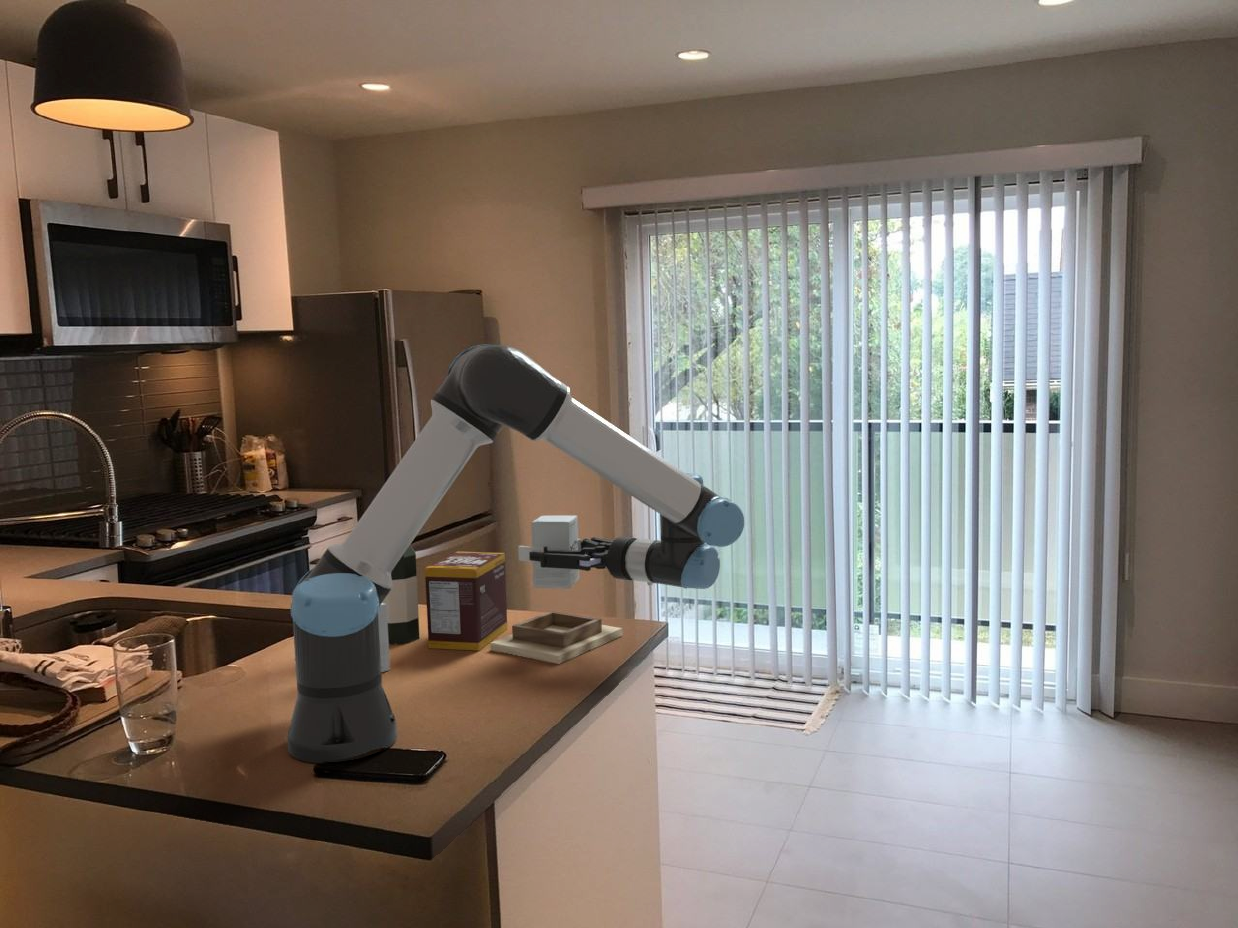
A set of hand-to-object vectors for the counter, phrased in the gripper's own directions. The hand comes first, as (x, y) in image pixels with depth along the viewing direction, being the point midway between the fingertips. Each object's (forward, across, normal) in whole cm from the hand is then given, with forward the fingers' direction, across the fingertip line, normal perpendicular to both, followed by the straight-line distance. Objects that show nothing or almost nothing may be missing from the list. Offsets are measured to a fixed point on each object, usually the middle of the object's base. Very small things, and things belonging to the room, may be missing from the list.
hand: (536, 548), depth 190 cm
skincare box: (+15, -29, -18) cm, 37 cm away
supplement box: (+13, -6, -18) cm, 23 cm away
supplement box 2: (-4, 0, -7) cm, 8 cm away
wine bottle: (+25, -13, -18) cm, 33 cm away
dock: (-4, 0, -18) cm, 18 cm away
